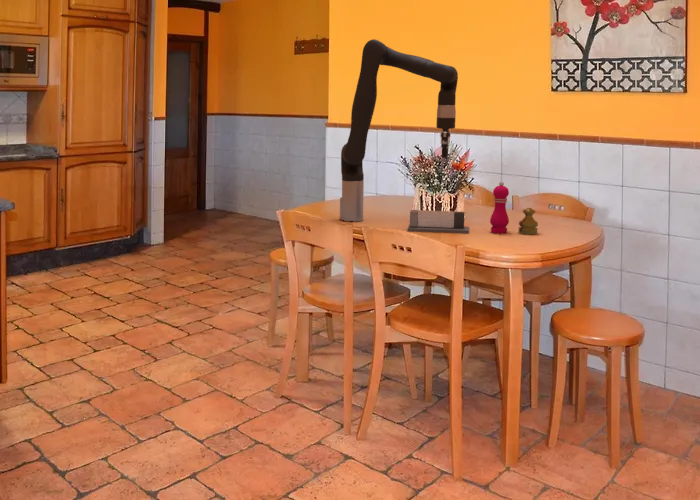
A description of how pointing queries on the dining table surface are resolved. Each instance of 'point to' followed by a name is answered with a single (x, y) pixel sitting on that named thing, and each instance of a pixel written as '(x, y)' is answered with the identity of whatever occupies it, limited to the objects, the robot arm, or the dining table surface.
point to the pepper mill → (500, 210)
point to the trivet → (439, 229)
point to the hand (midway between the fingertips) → (444, 156)
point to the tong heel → (414, 218)
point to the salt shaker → (528, 223)
